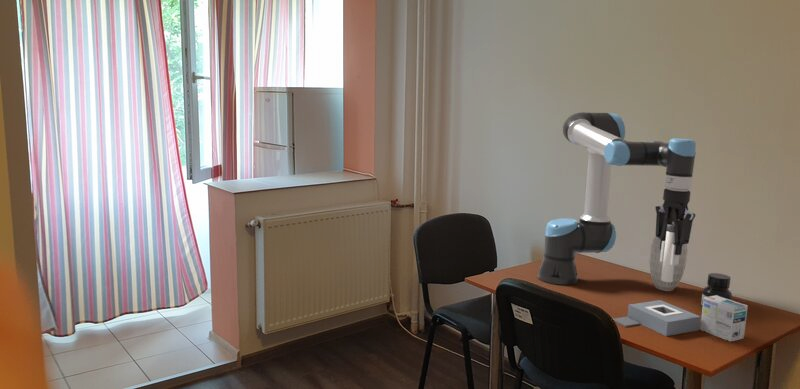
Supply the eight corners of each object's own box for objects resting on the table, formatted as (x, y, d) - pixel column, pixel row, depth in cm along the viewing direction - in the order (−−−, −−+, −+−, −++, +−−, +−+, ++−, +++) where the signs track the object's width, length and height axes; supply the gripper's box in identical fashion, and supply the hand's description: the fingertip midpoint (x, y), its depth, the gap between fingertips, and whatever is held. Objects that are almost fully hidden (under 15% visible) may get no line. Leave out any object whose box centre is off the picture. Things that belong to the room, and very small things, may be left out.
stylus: (658, 279, 197) (664, 224, 194) (666, 278, 198) (672, 223, 195) (667, 282, 194) (673, 226, 190) (675, 281, 195) (681, 225, 192)
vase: (647, 281, 243) (655, 211, 238) (683, 286, 238) (691, 214, 233) (645, 290, 232) (653, 216, 227) (682, 296, 226) (691, 220, 222)
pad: (611, 320, 200) (611, 318, 200) (625, 318, 202) (626, 316, 202) (625, 327, 194) (625, 325, 194) (639, 324, 197) (640, 323, 197)
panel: (627, 317, 202) (628, 304, 202) (658, 312, 208) (660, 299, 207) (666, 336, 188) (667, 321, 187) (698, 330, 194) (700, 315, 193)
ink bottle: (695, 304, 218) (699, 271, 216) (718, 304, 219) (723, 271, 217) (711, 314, 208) (715, 280, 206) (736, 314, 209) (740, 280, 207)
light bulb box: (744, 338, 188) (749, 305, 187) (730, 342, 185) (735, 308, 183) (712, 326, 198) (716, 294, 196) (698, 330, 194) (702, 297, 193)
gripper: (647, 185, 197) (640, 256, 201) (690, 194, 182) (681, 271, 186) (665, 184, 200) (657, 254, 204) (708, 193, 185) (699, 268, 189)
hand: (669, 262), depth 195 cm, fingers closed on stylus, 3 cm apart
